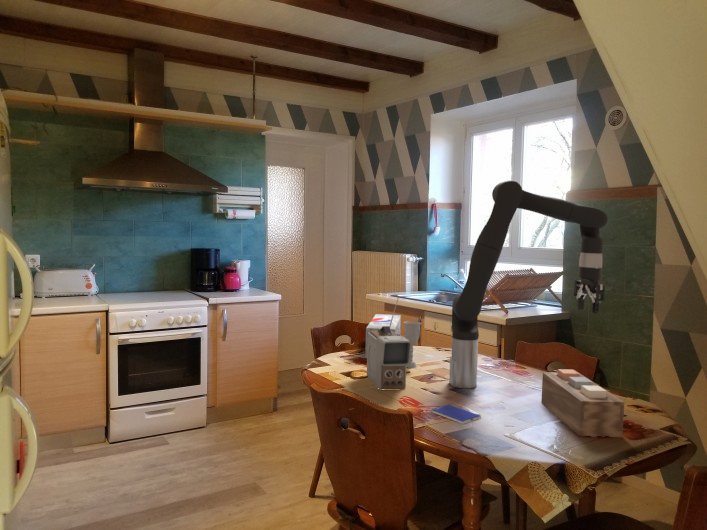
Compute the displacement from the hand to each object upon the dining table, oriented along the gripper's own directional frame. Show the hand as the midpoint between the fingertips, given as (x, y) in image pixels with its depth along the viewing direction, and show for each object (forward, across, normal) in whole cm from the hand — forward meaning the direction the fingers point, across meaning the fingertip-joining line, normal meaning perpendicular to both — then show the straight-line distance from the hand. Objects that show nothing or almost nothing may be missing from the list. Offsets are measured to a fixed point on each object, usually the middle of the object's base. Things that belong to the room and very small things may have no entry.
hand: (587, 311), depth 199 cm
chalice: (+29, -38, -52) cm, 71 cm away
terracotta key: (+21, +19, -18) cm, 33 cm away
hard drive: (+30, +20, -56) cm, 66 cm away
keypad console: (+28, +28, -20) cm, 44 cm away
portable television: (+29, -16, -68) cm, 75 cm away
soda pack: (+29, -69, -56) cm, 93 cm away
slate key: (+21, +27, -20) cm, 40 cm away
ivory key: (+21, +36, -21) cm, 47 cm away
